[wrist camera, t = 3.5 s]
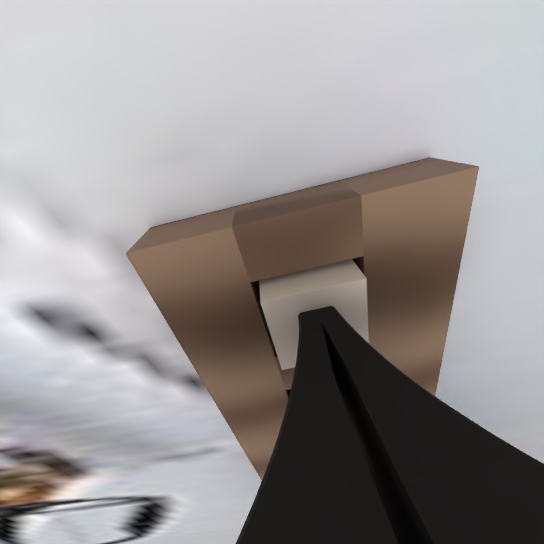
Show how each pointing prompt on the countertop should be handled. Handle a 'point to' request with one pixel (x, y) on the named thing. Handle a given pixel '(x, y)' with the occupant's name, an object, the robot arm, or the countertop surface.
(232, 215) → the button panel
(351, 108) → the countertop surface
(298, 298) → the cream button
